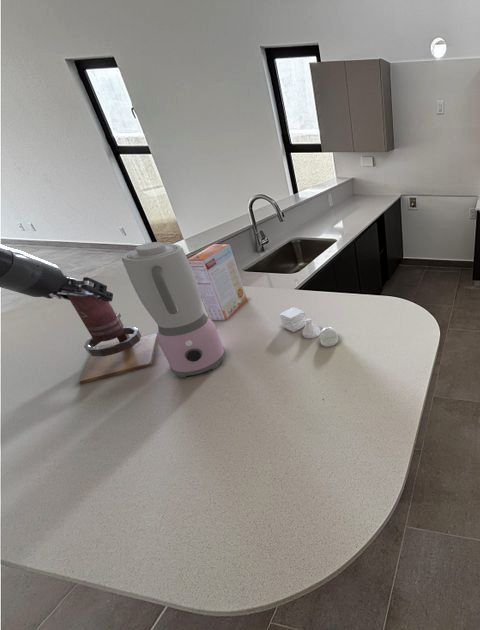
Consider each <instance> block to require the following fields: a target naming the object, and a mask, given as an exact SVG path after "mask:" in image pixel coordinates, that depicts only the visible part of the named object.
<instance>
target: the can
mask: <svg viewBox="0 0 480 630" xmlns="http://www.w3.org/2000/svg"><path fill="white" fill-rule="evenodd" d="M81 289H82V288H81V287H80V286H79V290H78V293H81ZM88 292H89V291H88ZM89 293H91V292H89ZM67 296H68V298H69V300H68V301H70V303H71V304H72V306H73V308H74V310H75V311H76V313H77V315H78V316H79V318H80V320H81V321H82V323H83V325H84V326H85V328H86V330H87V331H88V333H89V334H90V337H91V338H93V339H94V340H96V341H99V342H100V343H102V342H108V341H112V340H114V339H117V337H119V336H120V335H122V333H123V331H124V329H123V327H122V325H121V323H120V321H119V319H118V317H117V315H116V311H115V309H114V308H113V306H112V305H111V303H110V302H111V301H110V302H107V301H104V300H101V299H98V298H95V297H91V296H84V297H80V296H75V295H69V294H67Z"/></svg>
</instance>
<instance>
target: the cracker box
mask: <svg viewBox="0 0 480 630" xmlns="http://www.w3.org/2000/svg"><path fill="white" fill-rule="evenodd" d="M187 259H188V261H189V263H190V265H191V268H192V270H193V273H194V276H195V278H196V281H197V284H198V287H199V291H200V296H201V302H202V305H203V307H204V309H205V312H206V314H207V317H208V318H210V319H211V320H212V321H228V320H229V318H230V317H232V316H233V315H234V314H235V313H236V312H237V311H238V310H239V309H240V308H241V307H242V306H243V305H244V304H245V303H246V302H247V301H248V298H247V294H246V291H245V289H244V288H245V287H244V285H243V283H242V282H243V281H242V279H241V275H240V272H239V269H238V267H237V263H236V260H235V257H234V254H233V251H232V247H231V245H230V244H228V243H227V244H219V243H215V244H212V245H210V246H208V247H207V248H205V249H203V250H201V251H200V252H197V253H196V254H195V255H193V256H191V257H189V258H187Z"/></svg>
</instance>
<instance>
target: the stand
mask: <svg viewBox="0 0 480 630" xmlns="http://www.w3.org/2000/svg"><path fill="white" fill-rule="evenodd" d="M115 314H116V315H117V317H118V319H119V321H120V323H121V325H122V327H123V329H124V331H123V333H122V335H120V336H119V337H117V338H116V339H117V340H118V341H117V342H116V341H115V342H112V343H106V344H102V345H99V344H100V343H101V342H99V341H96V340H94V339H93V338H92V337H90V338H89V339H87V340H86V341H85V343H84V344H83V348H84V349H85V351H86V352H87V354H89V355H90V357H89V359H88V361H87V363H86V366H85V368H84V369H83V372H82V374H81V376H80V377H79V380H78V382H79V384H80V385H82V384H86V383H90V382H94V381H98V380H102V379H105V378H109V377H114V376H118V375H122V374H125V373H129V372H132V371H137V370H140V369H144V368H148V367H151V366H152V365H153V361H154V356H155V351H156V348H157V347H156V346H157V343H158V332H155V333H151V334H147V335H146V334H145V335H142V334H141V332H140V330H139V329H138V328H137V327H135V326H124V324H123V322H122V320H121V316H122V315H121V313H120V312H117V313H116V312H115ZM130 335H131V336H130Z"/></svg>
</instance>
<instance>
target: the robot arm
mask: <svg viewBox="0 0 480 630" xmlns="http://www.w3.org/2000/svg"><path fill="white" fill-rule="evenodd" d="M79 286H80V287H81V288H82V289H81V293H78V290H79ZM0 288H1V289H5V290H9V291H10V292H11V291H12V292H15V293H17V294H18V293H19V294H22V295H26V296H28V297H32V298H45V299H53V298H55V299H58V300H68V301H70V300H69V298H68V296H67V294H69V295H75V296H80V297H84V296H91V297H95V298H98V299H101V300H104V301H107V302H112V301H113V299H114V298H113V297H114V293H113V292H111V291H108V285H106V284H104V283H102V282H100V281H97V280H95V279H93V278H91V277H88V276H85V277H84V276H83V278H82V279H78V278H74V277H73V276H69V275H65V274H64V273H63V271H62V269H61V268H60V267H59V266H58V265H56V264H54V263H51V262H48V261H46V260H44V259H41V258H38V257H36V256H33V255H31V254H28V253H26V252H24V251H21V250H18V249H14V248H10V247H7V246H5V245H2V244H0ZM88 291H89V292H91V293H89V292H88Z"/></svg>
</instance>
